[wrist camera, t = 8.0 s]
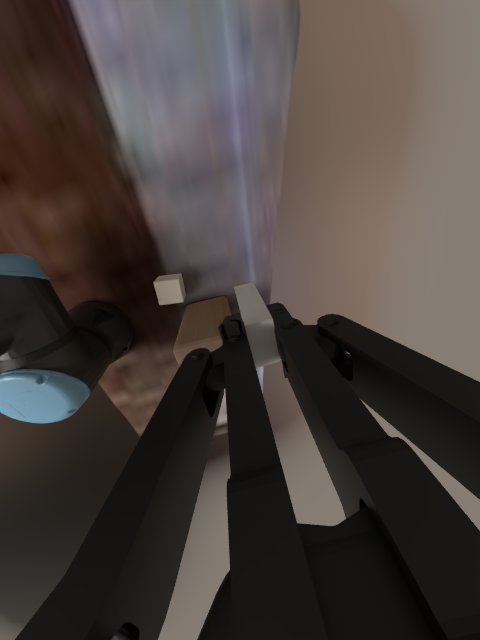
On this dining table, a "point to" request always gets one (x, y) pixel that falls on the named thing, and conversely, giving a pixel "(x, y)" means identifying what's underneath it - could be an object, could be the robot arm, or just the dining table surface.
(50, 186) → the dining table surface
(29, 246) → the dining table surface
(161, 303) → the cream cube
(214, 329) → the wooden block
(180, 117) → the dining table surface
